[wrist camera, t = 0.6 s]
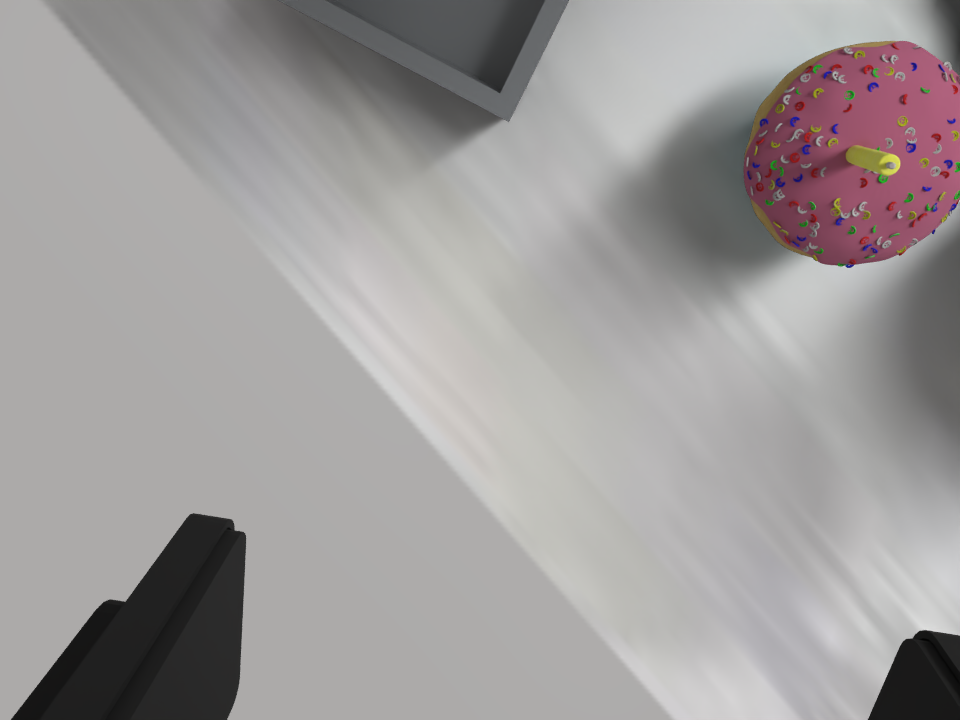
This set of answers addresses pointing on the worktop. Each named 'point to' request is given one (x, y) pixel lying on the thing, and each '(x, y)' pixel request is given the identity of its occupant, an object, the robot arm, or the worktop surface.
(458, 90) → the bin
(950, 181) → the cupcake
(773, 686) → the worktop surface
